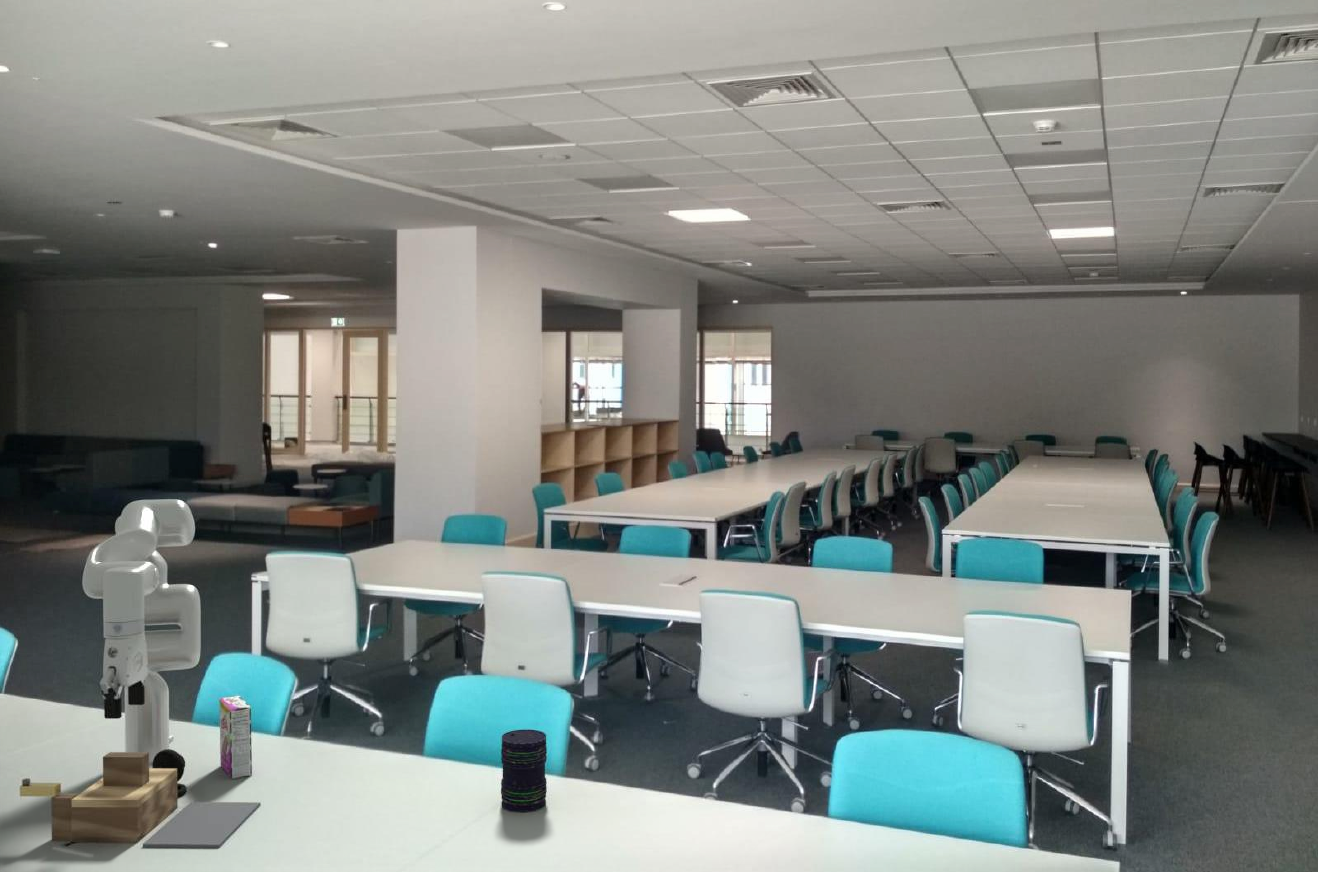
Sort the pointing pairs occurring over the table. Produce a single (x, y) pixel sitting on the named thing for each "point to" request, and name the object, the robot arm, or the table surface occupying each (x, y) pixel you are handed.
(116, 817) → the open wooden box
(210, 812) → the mat
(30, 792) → the yellow bar with ball
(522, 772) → the storage jar
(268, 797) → the table surface
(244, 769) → the candy bar box
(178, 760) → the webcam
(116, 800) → the lid
